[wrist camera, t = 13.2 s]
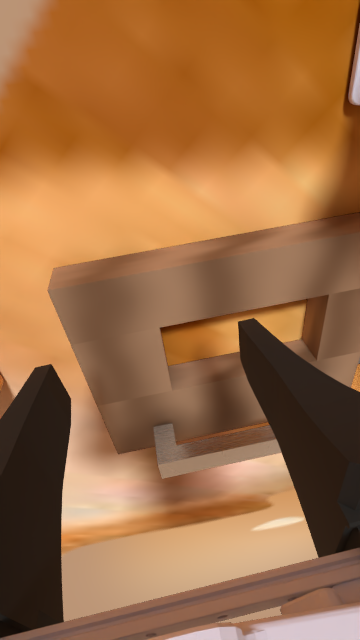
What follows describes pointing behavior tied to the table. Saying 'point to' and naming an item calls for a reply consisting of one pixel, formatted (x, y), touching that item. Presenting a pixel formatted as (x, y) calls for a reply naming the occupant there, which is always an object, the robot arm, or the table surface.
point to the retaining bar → (210, 449)
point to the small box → (1, 382)
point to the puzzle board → (200, 303)
